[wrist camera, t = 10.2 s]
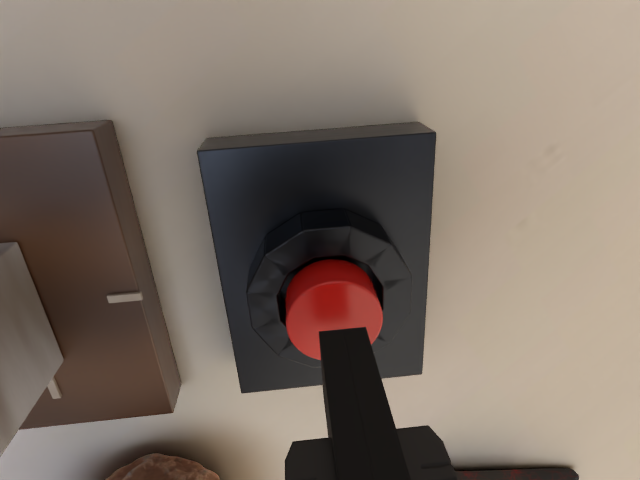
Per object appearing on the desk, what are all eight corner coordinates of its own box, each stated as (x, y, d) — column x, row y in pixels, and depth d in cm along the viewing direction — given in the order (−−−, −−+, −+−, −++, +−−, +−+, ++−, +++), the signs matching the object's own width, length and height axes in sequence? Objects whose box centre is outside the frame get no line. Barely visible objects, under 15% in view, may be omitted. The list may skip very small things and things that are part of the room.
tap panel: (-155, 139, 17) (-212, 152, 15) (115, 119, 17) (94, 129, 15) (-12, 404, 23) (-39, 439, 21) (183, 384, 23) (174, 415, 21)
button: (281, 262, 16) (281, 286, 15) (373, 254, 17) (383, 277, 15) (289, 337, 18) (290, 366, 16) (374, 329, 18) (383, 356, 17)
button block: (205, 137, 18) (186, 164, 14) (419, 121, 18) (454, 142, 15) (244, 363, 23) (238, 424, 19) (410, 345, 23) (434, 402, 20)
